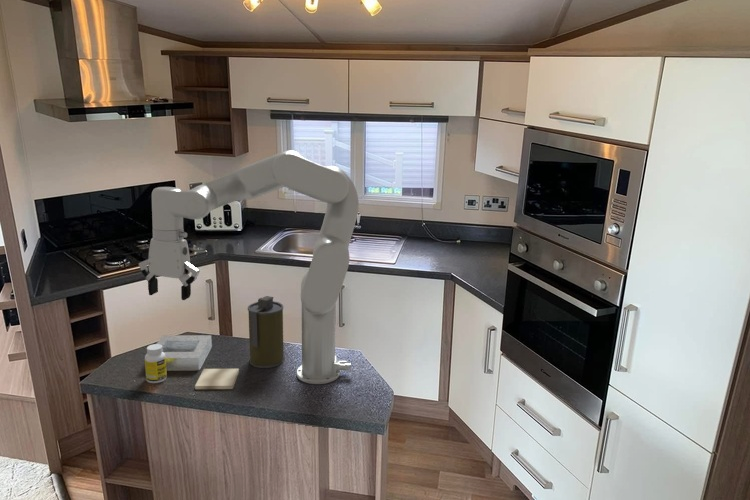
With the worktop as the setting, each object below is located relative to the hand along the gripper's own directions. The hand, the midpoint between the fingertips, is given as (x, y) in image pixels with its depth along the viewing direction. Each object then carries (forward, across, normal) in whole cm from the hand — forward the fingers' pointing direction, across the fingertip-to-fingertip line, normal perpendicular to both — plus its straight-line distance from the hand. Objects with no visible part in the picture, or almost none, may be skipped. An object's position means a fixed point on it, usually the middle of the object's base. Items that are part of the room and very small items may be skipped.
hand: (169, 296), depth 146 cm
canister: (+23, -21, -17) cm, 36 cm away
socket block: (+24, +4, -12) cm, 27 cm away
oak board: (+24, -13, -2) cm, 27 cm away
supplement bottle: (+25, +4, +2) cm, 25 cm away
